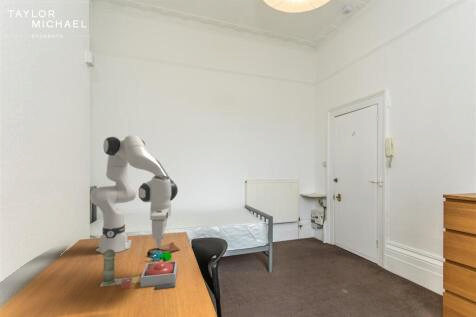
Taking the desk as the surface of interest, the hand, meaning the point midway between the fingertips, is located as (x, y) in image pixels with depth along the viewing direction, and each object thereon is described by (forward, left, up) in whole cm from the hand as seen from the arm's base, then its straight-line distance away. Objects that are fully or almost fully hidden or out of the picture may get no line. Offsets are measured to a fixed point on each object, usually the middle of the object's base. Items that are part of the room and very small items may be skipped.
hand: (160, 242), depth 100 cm
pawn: (0, -21, -15) cm, 26 cm away
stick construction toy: (-21, -3, -17) cm, 27 cm away
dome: (0, 0, -15) cm, 15 cm away
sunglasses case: (-32, -1, -17) cm, 37 cm away
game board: (0, -8, -17) cm, 18 cm away
